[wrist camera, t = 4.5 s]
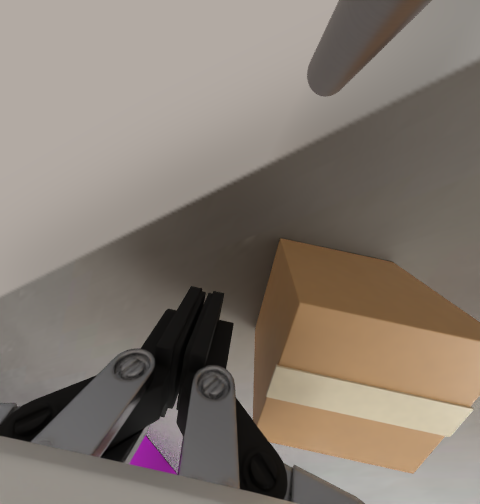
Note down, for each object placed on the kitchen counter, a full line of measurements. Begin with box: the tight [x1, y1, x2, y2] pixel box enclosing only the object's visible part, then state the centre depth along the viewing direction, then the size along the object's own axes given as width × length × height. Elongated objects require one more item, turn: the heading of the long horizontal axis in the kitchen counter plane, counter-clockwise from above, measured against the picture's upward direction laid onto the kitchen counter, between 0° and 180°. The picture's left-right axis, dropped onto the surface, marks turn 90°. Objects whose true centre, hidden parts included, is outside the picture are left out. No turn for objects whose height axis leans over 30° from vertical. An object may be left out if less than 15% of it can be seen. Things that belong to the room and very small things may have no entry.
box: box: [253, 238, 480, 474], centre depth 11 cm, size 7×7×7 cm
